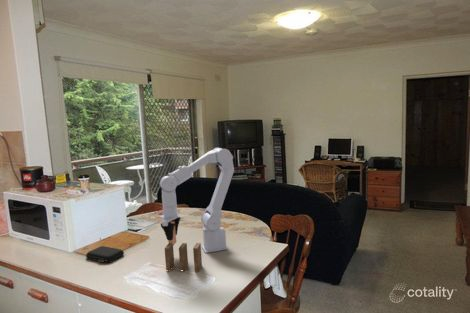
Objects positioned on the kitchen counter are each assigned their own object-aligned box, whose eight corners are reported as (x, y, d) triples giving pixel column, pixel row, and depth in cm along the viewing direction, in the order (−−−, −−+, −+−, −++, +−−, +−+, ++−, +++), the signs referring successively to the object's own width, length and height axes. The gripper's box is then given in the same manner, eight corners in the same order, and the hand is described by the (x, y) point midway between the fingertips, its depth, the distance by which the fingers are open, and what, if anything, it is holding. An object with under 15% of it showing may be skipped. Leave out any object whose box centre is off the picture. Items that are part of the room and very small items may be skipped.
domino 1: (174, 265, 127) (172, 243, 126) (170, 271, 122) (168, 248, 121) (170, 265, 127) (168, 243, 126) (166, 271, 123) (164, 248, 122)
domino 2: (188, 265, 127) (186, 243, 126) (184, 271, 122) (182, 248, 121) (184, 265, 127) (182, 243, 126) (180, 271, 122) (178, 248, 121)
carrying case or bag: (81, 260, 137) (106, 266, 130) (81, 253, 137) (105, 258, 130) (102, 250, 147) (126, 255, 140) (101, 244, 146) (125, 248, 139)
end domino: (176, 241, 138) (174, 221, 137) (172, 246, 133) (170, 225, 132) (172, 241, 138) (171, 221, 137) (168, 246, 133) (167, 225, 132)
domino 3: (202, 265, 126) (200, 243, 125) (198, 271, 121) (197, 248, 120) (197, 265, 126) (196, 243, 125) (194, 271, 121) (193, 248, 120)
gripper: (166, 201, 141) (168, 231, 143) (153, 210, 127) (156, 244, 128) (182, 200, 140) (184, 231, 142) (171, 210, 126) (173, 244, 128)
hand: (172, 237), depth 135 cm, fingers closed on end domino, 5 cm apart
